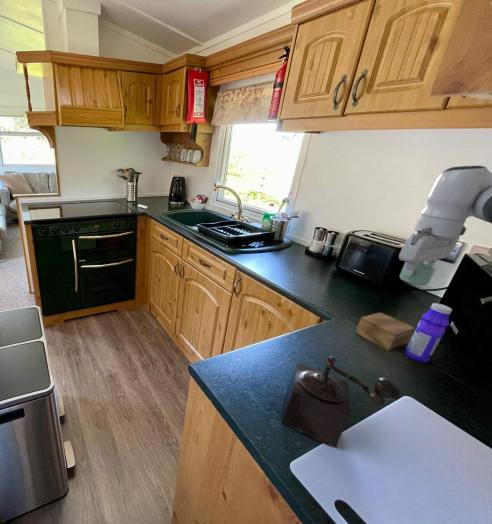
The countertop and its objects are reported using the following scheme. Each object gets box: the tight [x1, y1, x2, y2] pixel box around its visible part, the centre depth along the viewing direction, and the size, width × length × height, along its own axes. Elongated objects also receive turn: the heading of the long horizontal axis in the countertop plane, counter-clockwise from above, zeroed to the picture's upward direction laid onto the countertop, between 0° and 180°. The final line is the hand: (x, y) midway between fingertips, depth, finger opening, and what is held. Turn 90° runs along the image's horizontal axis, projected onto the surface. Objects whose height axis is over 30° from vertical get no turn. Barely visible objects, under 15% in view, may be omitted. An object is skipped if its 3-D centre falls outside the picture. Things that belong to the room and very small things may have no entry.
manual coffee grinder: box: [280, 355, 402, 448], centre depth 59 cm, size 16×11×18 cm
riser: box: [354, 311, 416, 352], centre depth 94 cm, size 10×11×6 cm
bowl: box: [399, 261, 436, 286], centre depth 84 cm, size 6×6×5 cm
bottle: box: [404, 302, 453, 364], centre depth 84 cm, size 7×6×17 cm
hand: (416, 273), depth 84 cm, fingers closed on bowl, 6 cm apart
